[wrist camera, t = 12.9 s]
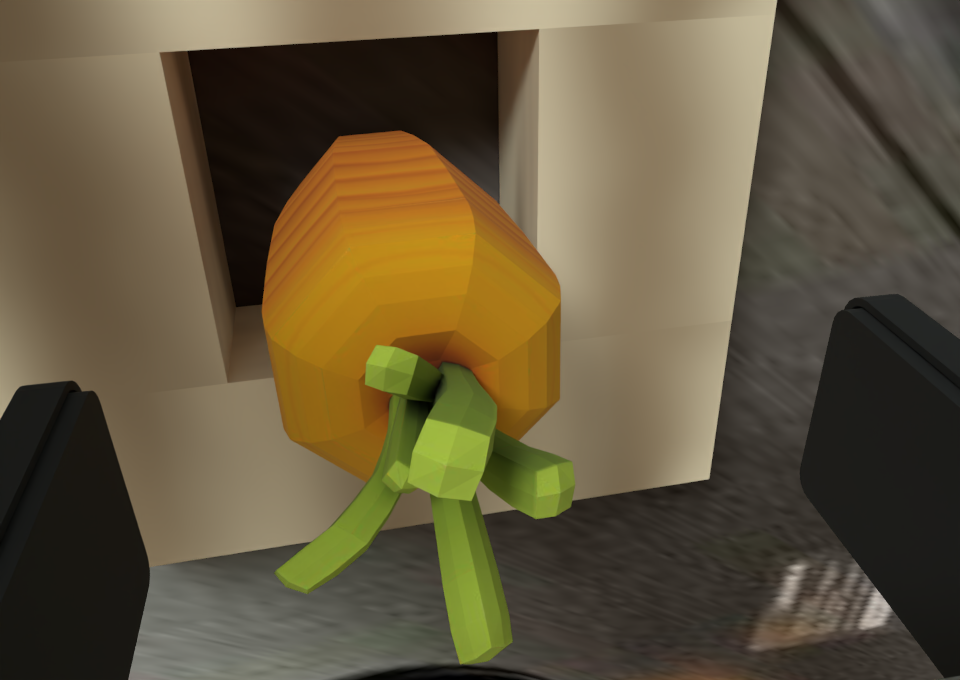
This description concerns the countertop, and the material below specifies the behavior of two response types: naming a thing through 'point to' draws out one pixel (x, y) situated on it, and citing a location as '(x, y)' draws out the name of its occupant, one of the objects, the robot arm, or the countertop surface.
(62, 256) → the maple block
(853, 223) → the countertop surface
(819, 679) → the countertop surface
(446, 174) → the carrot
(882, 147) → the countertop surface
